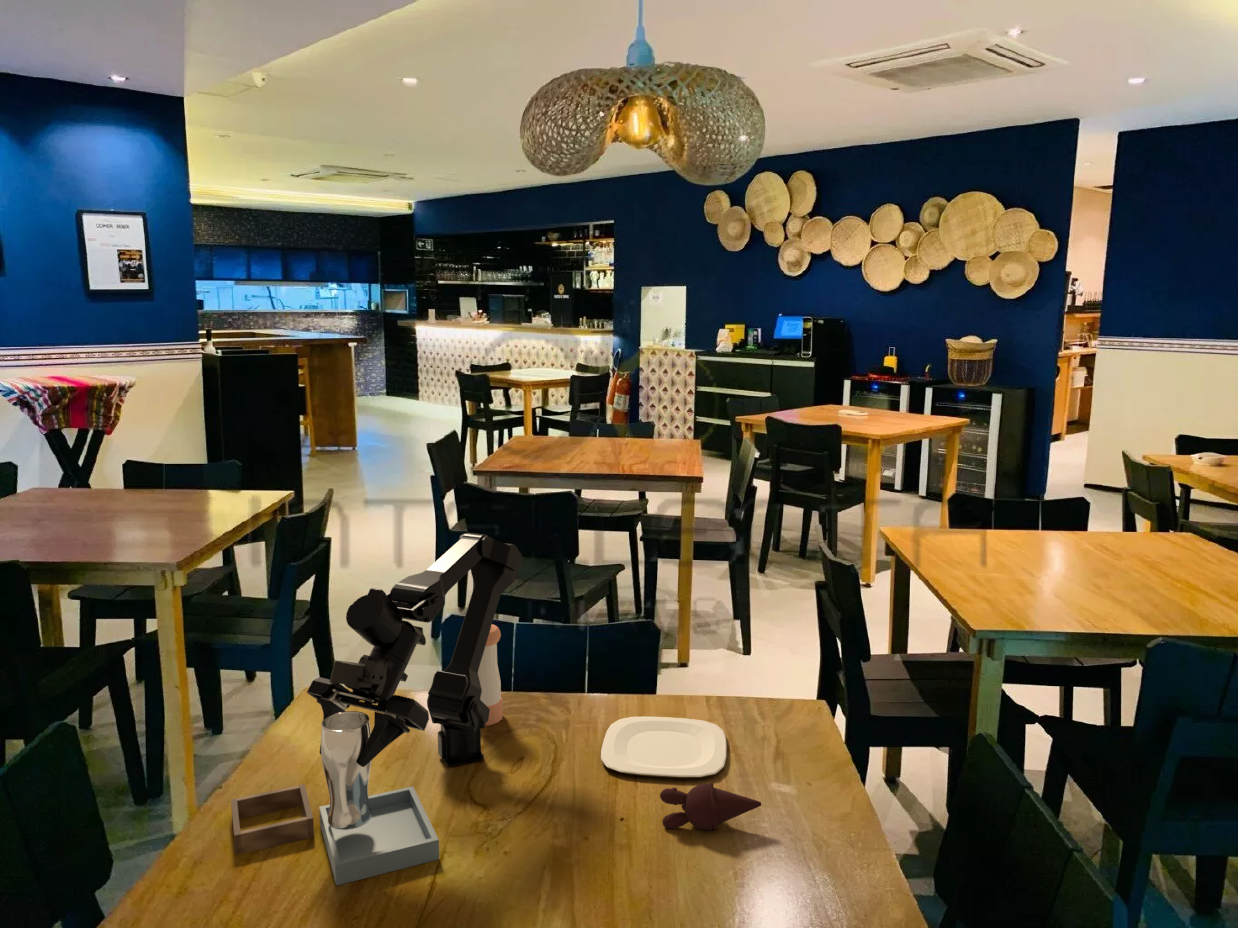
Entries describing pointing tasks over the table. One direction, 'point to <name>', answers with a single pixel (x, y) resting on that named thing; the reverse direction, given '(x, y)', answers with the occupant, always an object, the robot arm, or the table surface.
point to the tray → (381, 838)
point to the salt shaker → (491, 678)
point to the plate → (664, 747)
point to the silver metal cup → (346, 768)
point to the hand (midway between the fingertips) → (341, 760)
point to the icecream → (705, 806)
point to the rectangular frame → (273, 832)
